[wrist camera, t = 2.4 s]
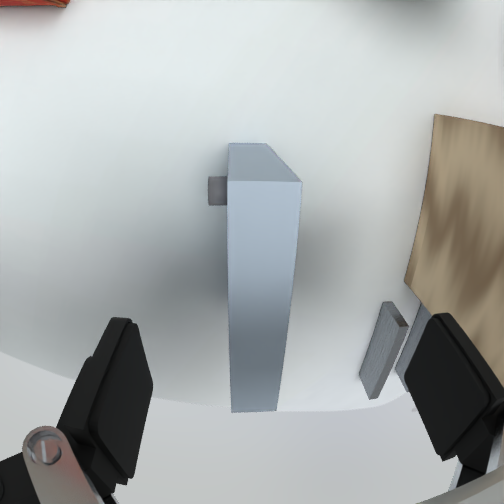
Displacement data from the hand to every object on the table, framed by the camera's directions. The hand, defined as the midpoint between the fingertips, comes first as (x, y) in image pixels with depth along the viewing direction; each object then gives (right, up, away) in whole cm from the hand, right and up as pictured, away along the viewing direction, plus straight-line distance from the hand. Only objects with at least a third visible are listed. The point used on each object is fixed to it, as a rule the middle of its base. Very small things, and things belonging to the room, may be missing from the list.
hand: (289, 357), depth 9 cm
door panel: (-2, +5, +9) cm, 10 cm away
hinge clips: (+11, -4, +14) cm, 18 cm away
